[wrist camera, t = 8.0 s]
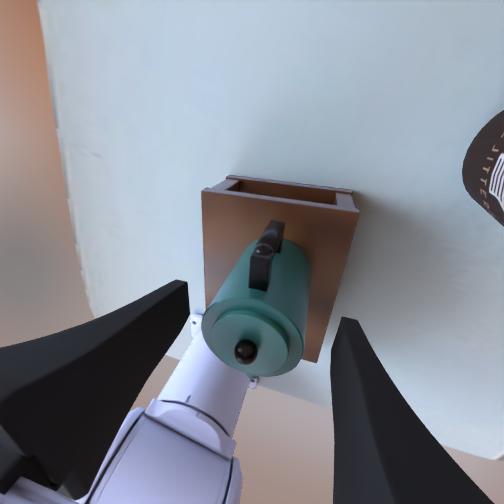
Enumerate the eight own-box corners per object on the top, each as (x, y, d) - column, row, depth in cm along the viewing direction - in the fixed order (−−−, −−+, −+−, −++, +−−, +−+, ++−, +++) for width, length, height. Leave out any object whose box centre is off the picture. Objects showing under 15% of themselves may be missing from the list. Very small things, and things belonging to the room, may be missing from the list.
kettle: (300, 329, 17) (285, 439, 11) (238, 314, 18) (194, 409, 12) (324, 214, 13) (322, 292, 7) (243, 203, 14) (181, 263, 8)
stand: (318, 318, 23) (316, 363, 19) (227, 297, 25) (206, 334, 20) (352, 189, 17) (360, 212, 13) (229, 174, 19) (200, 190, 15)
